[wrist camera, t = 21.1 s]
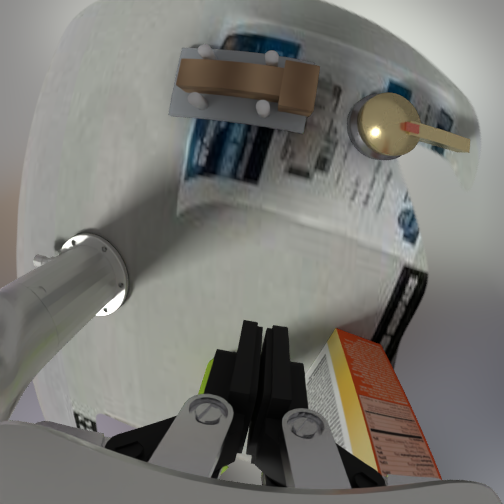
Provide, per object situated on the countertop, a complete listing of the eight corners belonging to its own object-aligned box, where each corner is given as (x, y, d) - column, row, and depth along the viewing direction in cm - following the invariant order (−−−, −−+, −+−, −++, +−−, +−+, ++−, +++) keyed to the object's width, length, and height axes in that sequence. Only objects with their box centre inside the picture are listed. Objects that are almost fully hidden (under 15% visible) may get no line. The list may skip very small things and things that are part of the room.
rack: (171, 116, 34) (156, 110, 29) (184, 50, 32) (172, 36, 27) (302, 134, 34) (307, 129, 29) (313, 65, 31) (319, 51, 26)
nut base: (341, 151, 34) (345, 150, 32) (351, 89, 32) (355, 85, 30) (428, 175, 34) (435, 176, 32) (437, 118, 32) (444, 116, 30)
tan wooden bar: (184, 100, 32) (174, 93, 29) (192, 60, 31) (183, 50, 27) (308, 116, 32) (313, 111, 28) (315, 76, 31) (320, 66, 27)
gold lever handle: (353, 149, 32) (361, 148, 29) (358, 91, 30) (366, 85, 27) (455, 173, 31) (468, 174, 28) (459, 120, 29) (472, 118, 26)
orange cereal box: (307, 437, 48) (314, 584, 19) (267, 427, 47) (256, 583, 19) (380, 344, 41) (456, 520, 12) (335, 327, 41) (391, 531, 12)
